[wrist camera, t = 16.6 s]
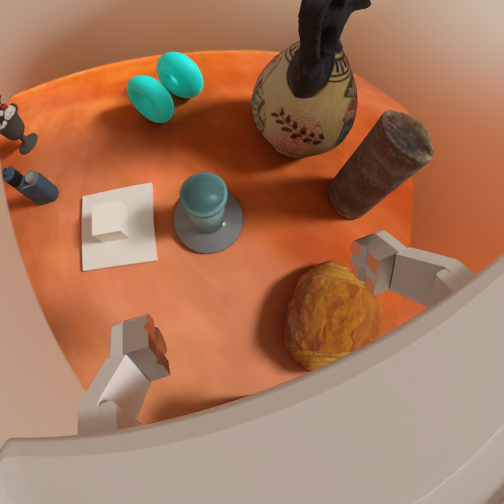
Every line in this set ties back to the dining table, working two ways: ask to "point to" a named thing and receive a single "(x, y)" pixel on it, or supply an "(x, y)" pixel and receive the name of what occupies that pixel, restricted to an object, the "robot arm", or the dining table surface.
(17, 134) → the sundae
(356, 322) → the brown oval lump
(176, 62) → the donuts
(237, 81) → the dining table surface
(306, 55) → the ceramic jug
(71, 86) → the dining table surface
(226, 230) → the dish
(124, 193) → the white cube on base
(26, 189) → the vaping device
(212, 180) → the teal domed cylinder
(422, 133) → the brown tall cylinder
